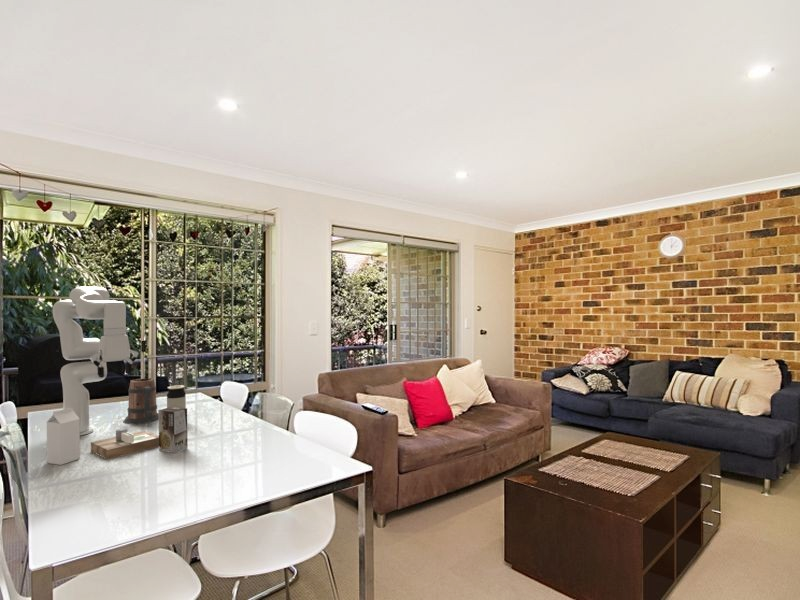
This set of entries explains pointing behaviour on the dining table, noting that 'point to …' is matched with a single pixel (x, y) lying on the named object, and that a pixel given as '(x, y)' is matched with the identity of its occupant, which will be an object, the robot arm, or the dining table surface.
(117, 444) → the board
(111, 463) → the dining table surface
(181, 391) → the travel mug
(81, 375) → the robot arm
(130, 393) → the tankard
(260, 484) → the dining table surface
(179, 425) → the coffee box
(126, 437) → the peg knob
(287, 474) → the dining table surface
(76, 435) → the milk carton
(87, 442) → the dining table surface
